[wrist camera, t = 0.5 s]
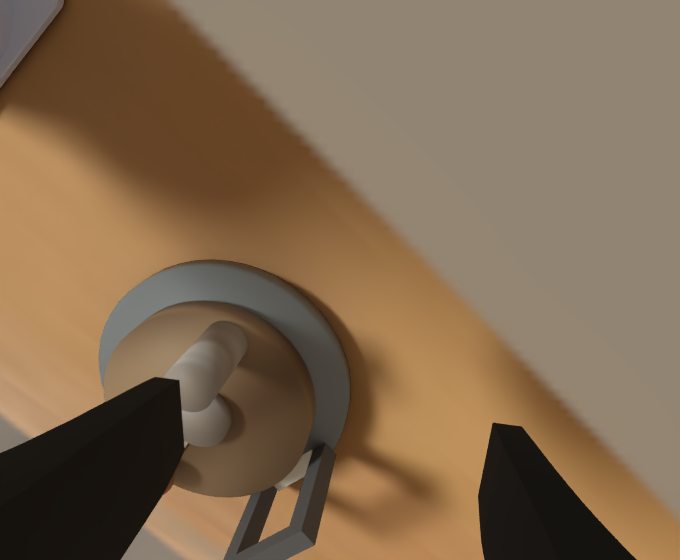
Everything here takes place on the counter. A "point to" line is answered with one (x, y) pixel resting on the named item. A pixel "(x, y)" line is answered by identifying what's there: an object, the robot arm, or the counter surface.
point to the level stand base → (315, 349)
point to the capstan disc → (223, 393)
